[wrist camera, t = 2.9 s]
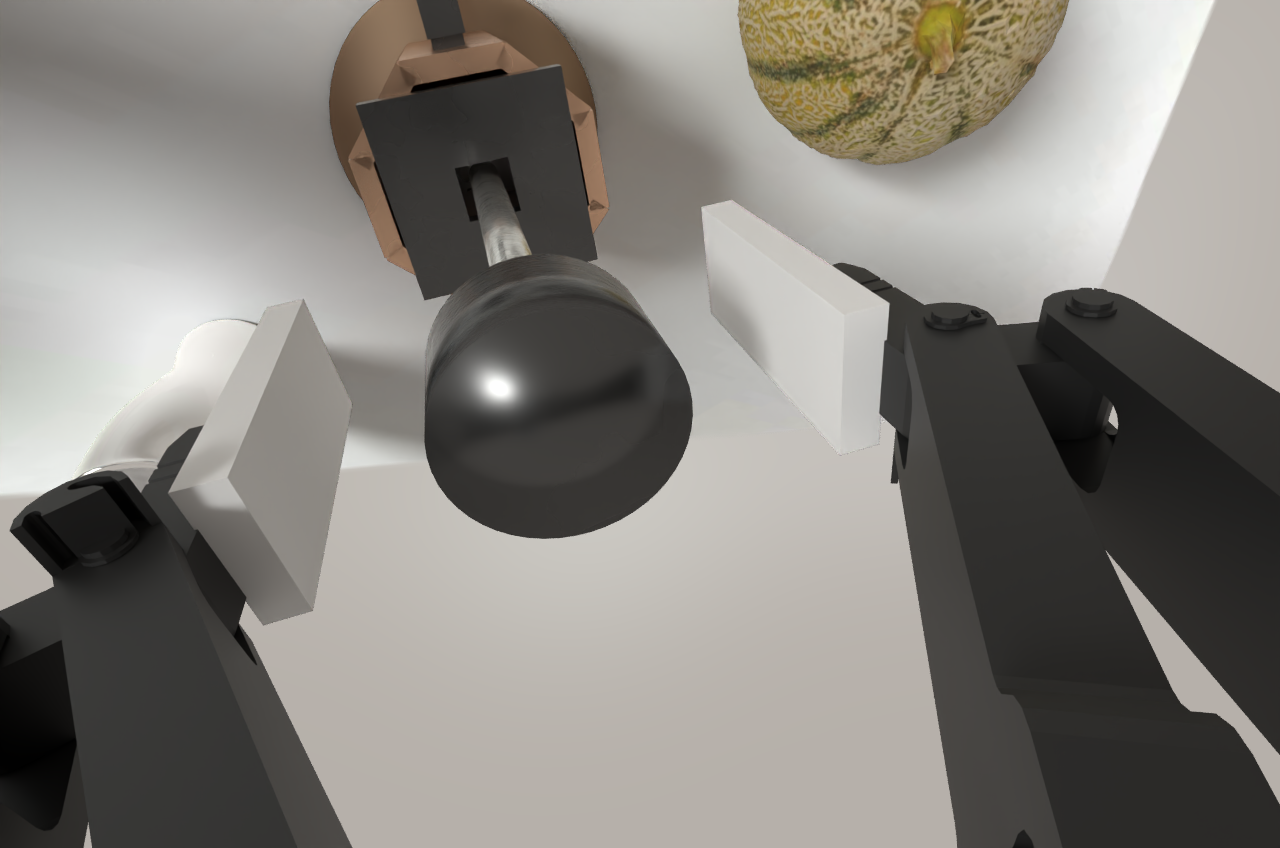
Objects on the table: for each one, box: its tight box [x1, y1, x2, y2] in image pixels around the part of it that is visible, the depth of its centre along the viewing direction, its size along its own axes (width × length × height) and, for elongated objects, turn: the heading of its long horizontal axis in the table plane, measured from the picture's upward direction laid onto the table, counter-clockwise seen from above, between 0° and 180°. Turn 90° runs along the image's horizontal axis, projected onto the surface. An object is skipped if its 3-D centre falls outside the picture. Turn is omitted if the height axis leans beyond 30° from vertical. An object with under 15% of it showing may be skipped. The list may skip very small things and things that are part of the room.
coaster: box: [329, 0, 597, 200], centre depth 36 cm, size 14×14×1 cm
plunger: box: [425, 157, 693, 539], centre depth 19 cm, size 6×6×21 cm
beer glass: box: [70, 319, 257, 493], centre depth 34 cm, size 7×7×15 cm
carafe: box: [348, 0, 609, 300], centre depth 30 cm, size 9×12×13 cm
